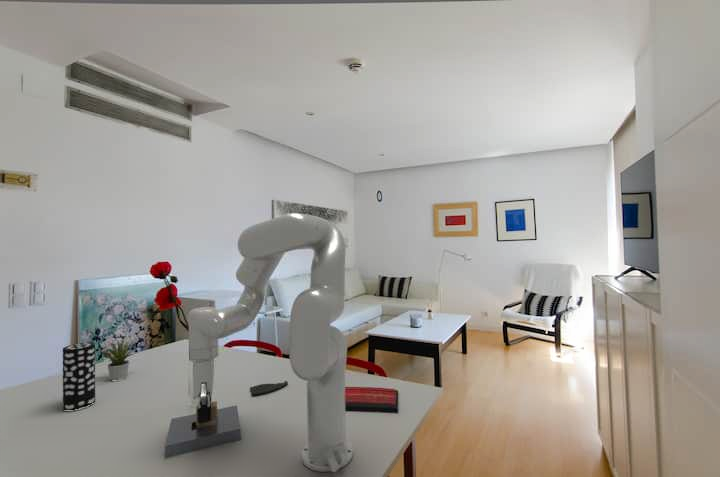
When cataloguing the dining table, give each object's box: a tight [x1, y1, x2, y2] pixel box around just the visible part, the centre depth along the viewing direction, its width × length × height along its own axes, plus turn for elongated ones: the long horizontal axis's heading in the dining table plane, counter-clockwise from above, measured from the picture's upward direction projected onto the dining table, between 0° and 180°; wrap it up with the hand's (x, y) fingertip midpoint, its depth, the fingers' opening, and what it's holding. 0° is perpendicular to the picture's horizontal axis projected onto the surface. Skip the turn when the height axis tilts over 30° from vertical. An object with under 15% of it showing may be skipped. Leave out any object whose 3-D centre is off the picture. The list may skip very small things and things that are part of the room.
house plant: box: [98, 337, 141, 381], centre depth 135 cm, size 14×14×16 cm
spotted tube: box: [62, 341, 96, 410], centre depth 111 cm, size 8×8×20 cm
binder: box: [345, 386, 399, 414], centre depth 111 cm, size 16×2×21 cm
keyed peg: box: [195, 400, 218, 429], centre depth 92 cm, size 5×3×8 cm, turn 113°
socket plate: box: [164, 404, 242, 459], centre depth 92 cm, size 14×18×3 cm
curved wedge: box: [249, 380, 289, 398], centre depth 121 cm, size 8×14×2 cm, turn 113°
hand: (204, 413), depth 92 cm, fingers open, 9 cm apart
